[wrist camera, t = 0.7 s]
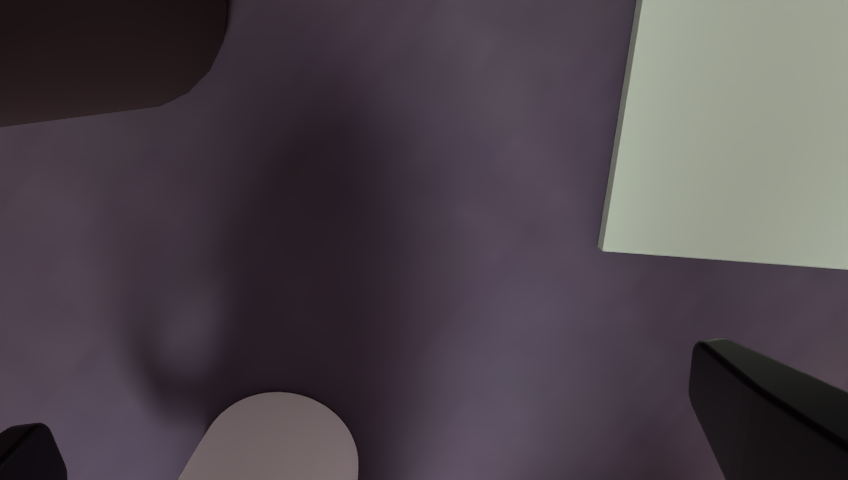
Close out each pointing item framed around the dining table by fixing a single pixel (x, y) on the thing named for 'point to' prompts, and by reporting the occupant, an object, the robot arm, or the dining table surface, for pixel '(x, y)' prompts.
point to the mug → (275, 442)
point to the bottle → (102, 55)
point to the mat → (733, 133)
